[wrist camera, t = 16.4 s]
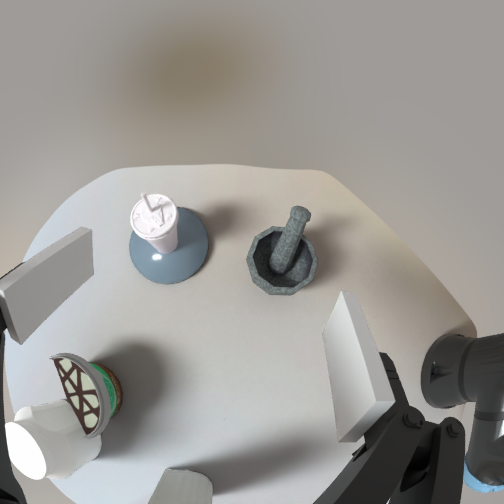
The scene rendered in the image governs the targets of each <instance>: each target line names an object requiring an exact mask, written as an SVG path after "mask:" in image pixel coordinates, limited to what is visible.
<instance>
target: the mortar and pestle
mask: <svg viewBox="0 0 504 504" xmlns="http://www.w3.org/2000/svg"><path fill="white" fill-rule="evenodd" d="M290 215H291V216H290V218H289V220H288V222H287V224H286V226H285V227H274V226H272V227H270V228H269V229H267V230H265V231H264V232H262V233H260V234H259V235H257V236H255V237H254V240H253V243H252V245H251V248H250V250H249V253H248V256H247V259H246V260H247V264H248V267H249V271H250V274H251V277H252V280H253V283H255V284H256V285H257V286H259V287H260V288H261V289H263V290H264V291H265V292H267V293H268V294H269V295H293V294H295V293H296V292H297V291H299V290H300V289H302V288H303V287H304V286H306V285H307V284H309V283H310V282H311V281H312V280H313V277H314V273H315V270H316V266H317V262H318V259H317V256H316V254H315V251H314V248H313V246H312V243H311V241H310V240H309V239H308V238H306V237H305V236H304V235H302V233H303V231H304V228H305V225H306V222H308V221H310V218H311V213H310V212H309V211H308V210H307V209H306V208H304V207H301V206H294V207H292V209H291V212H290Z"/></svg>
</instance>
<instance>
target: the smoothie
mask: <svg viewBox="0 0 504 504" xmlns="http://www.w3.org/2000/svg"><path fill="white" fill-rule="evenodd" d="M141 196H142V199H141V200H140V201H138V202H137V204H136V205H135V206H134V208H133V210H132V213H131V224H132V227H133V229H134V231H135V233H136V234H137V235H138V236H139V237H141V238H143V239H146V240H147V241H148V242H149V243H150V244H151V245H152V246H153V247H155V248H156V249H157V250H158V251H159V252H160V253H163V254H169V253H171V252H173V251H174V250H175V249H176V247H177V245H178V237H177V222H178V210H177V207H176V205H175V203H174V201H173V200H172V199H171V198H169V197H168V196H166V195H162V194H152V195H148V196H146V194H145V192H142V193H141Z"/></svg>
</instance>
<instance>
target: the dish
mask: <svg viewBox="0 0 504 504" xmlns="http://www.w3.org/2000/svg"><path fill="white" fill-rule="evenodd" d="M177 210H178V222H177V237H178V245H177V247H176V249H175V250H174V251H173V252H171V253H169V254H163V253H160V252H159V251H158V250H157V249H156V248H155V247H153V246H152V245H151V244H150V243H149V242H148V241H147V240H146V239H143V238H141V237H139V236H138V235H137V234H136V233H135V231H134V230H133V232H132V235H131V238H130V244H129V250H130V256H131V259H132V262H133V264H134V266H135V267H136V269H137V270H138V271H139V272H140V273H141V274H142V275H143V276H144V277H146V278H147V279H149V280H151V281H153V282H156V283H160V284H175V283H179V282H182V281H184V280H186V279H188V278H189V277H191V276H192V275H194V274H195V273H196V272H197V271H198V270H199V268H200V267H201V266H202V264H203V262H204V260H205V258H206V255H207V251H208V236H207V232H206V229H205V226H204V225H203V223H202V221H201V220H200V219H199V218H198V217H197V216H196V215H195V214H194V213H192V212H190V211H189V210H186V209H184V208H180V207H177Z"/></svg>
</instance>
